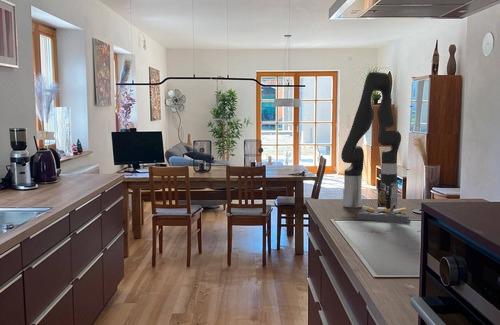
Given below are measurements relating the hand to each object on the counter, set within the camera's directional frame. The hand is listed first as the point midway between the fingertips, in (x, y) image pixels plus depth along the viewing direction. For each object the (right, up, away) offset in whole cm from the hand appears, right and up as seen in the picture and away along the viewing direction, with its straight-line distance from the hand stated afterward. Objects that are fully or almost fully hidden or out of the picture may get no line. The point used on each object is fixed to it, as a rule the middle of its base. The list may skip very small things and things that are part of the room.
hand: (388, 208), depth 229 cm
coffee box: (+5, -4, +19) cm, 19 cm away
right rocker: (+5, -1, -2) cm, 5 cm away
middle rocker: (-2, -1, +1) cm, 2 cm away
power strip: (-3, -5, -1) cm, 6 cm away
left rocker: (-9, -1, +4) cm, 10 cm away
